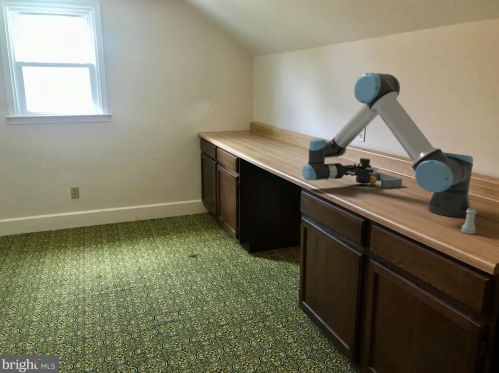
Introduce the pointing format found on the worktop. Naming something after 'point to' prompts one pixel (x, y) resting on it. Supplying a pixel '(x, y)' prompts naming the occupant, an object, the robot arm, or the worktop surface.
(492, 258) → the worktop surface
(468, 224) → the rook chess piece
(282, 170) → the worktop surface
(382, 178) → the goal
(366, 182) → the supplement bottle
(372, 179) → the ball
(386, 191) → the worktop surface
